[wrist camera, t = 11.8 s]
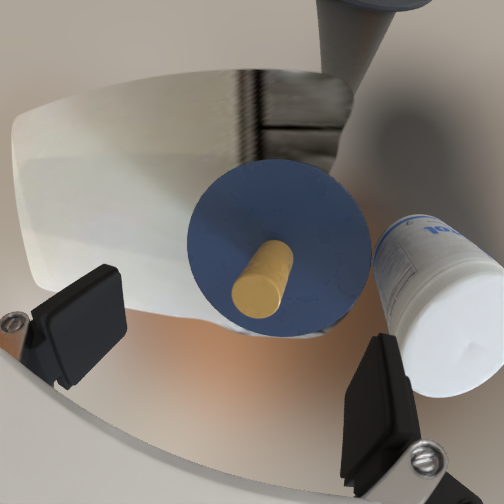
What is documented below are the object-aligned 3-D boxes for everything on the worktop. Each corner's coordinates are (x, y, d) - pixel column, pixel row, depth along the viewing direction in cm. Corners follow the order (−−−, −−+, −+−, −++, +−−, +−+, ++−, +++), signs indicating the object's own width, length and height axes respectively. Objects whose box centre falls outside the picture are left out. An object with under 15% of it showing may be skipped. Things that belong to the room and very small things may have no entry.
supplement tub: (463, 222, 23) (548, 282, 10) (437, 305, 26) (486, 399, 13) (379, 202, 25) (434, 255, 11) (359, 292, 28) (375, 398, 15)
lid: (201, 147, 18) (146, 148, 12) (388, 180, 16) (421, 195, 10) (189, 306, 23) (148, 354, 17) (341, 343, 21) (341, 406, 15)
